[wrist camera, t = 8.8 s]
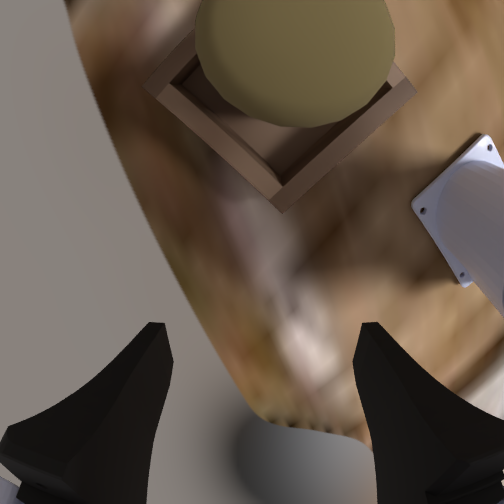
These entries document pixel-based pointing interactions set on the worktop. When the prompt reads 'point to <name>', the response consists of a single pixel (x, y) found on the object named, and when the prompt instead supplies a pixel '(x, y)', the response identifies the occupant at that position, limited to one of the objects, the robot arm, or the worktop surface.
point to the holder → (268, 127)
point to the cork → (295, 56)
